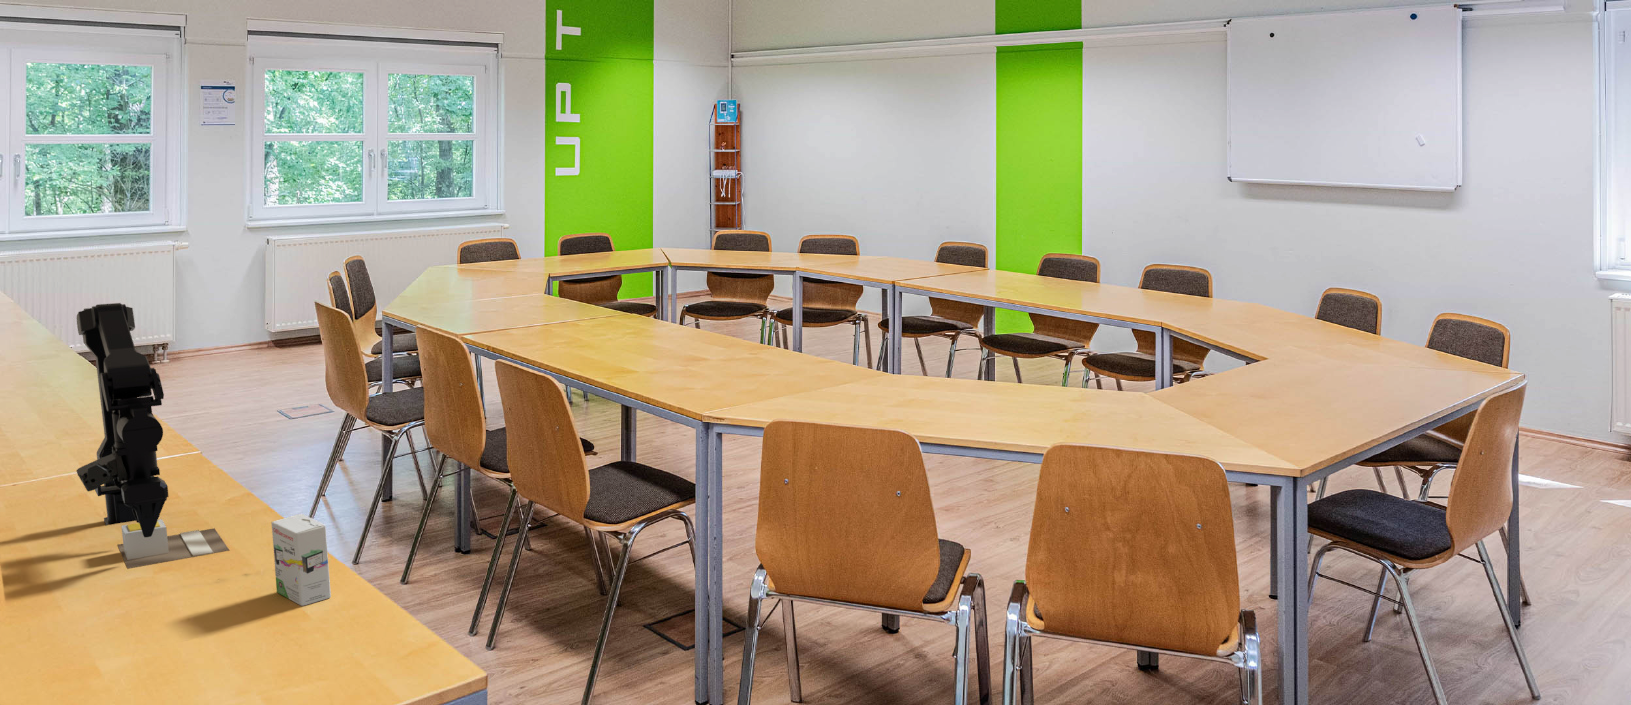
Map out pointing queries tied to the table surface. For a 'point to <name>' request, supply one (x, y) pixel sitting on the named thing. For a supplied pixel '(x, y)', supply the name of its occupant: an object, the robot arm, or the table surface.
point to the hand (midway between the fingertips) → (143, 529)
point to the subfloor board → (182, 548)
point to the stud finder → (144, 541)
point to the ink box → (301, 559)
